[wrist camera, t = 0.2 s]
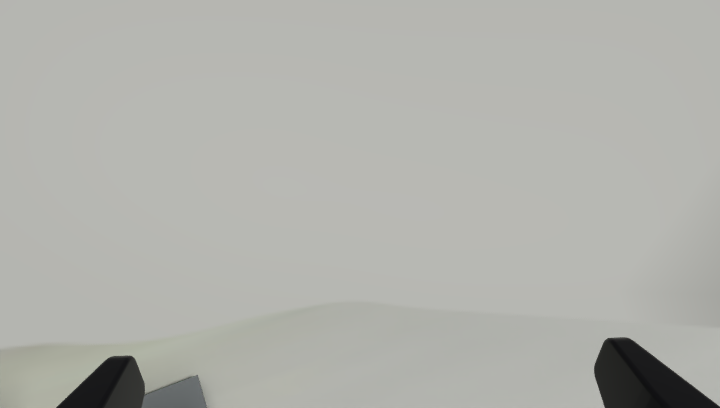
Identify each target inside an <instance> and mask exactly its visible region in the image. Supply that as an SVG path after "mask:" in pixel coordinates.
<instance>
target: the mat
mask: <svg viewBox="0 0 720 408" xmlns="http://www.w3.org/2000/svg"><path fill="white" fill-rule="evenodd" d="M142 408H207V407H206V403H205V400H204V396H203V392H202V389H201V385H200V381H199V378H198V375H196V376H193V377H191V378H188V379H185V380H183V381H180V382H178V383H175V384H172V385H170V386H167V387H164V388H162V389H159V390H157V391H154V392H151V393H149V394H146V395H144V399H143V404H142Z"/></svg>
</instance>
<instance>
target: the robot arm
mask: <svg viewBox="0 0 720 408" xmlns="http://www.w3.org/2000/svg"><path fill="white" fill-rule="evenodd" d="M594 373H595V378H596V381H597V384H598V388H599V391H600V394H601V397H602V400H603V403H604V406H605V408H720V406H718V405H717V404H716V403H714V402H713V401H712V400H710V399H709V398H708V397H706V396H705V395H704V394H703V393H701V392H700V391H699V390H697V389H696V388H695V387H693V386H692V385H691V384H689V383H688V382H687V381H685V380H684V379H683V378H682V377H680V376H679V375H678V374H676V373H675V372H674V371H672V370H671V369H670V368H668V367H667V366H666V365H664V364H663V363H662V362H660V361H659V360H658V359H657V358H655V357H654V356H653V355H651V354H650V353H649V352H647V351H646V350H645V349H643V348H642V347H641V346H639V345H638V344H637V343H636V342H634V341H633V340H631V339H629V338H625V337H620V338H608V339H606V340H605V341H604V343H603V345H602V348H601V350H600V353H599V355H598V358H597V360H596V363H595V366H594ZM144 394H145V385H144V381H143V378H142V376H141V373H140V370H139V368H138V365H137V363H136V360H135V358H133V357H132V356H113V357H110V358H108V359H107V360H105V361H104V362H103V363H102V364H101V365H100V366H99V367H98V368H97V369H96V370H95V371H94V372H93V373H92V374H91V375H90V376H89V377H88V378H87V379H85V380H84V381H83V382H82V383H81V384H80V385H79V386H78V387H77V388H76V389H75V390H74V391H73V392H72V393H71V394H70V395H69V396H68V397H67V398H66V399H65V400H64V401H63V402H61V403H60V404H59V405H58V406H57V407H56V408H142V404H143V399H144Z"/></svg>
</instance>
